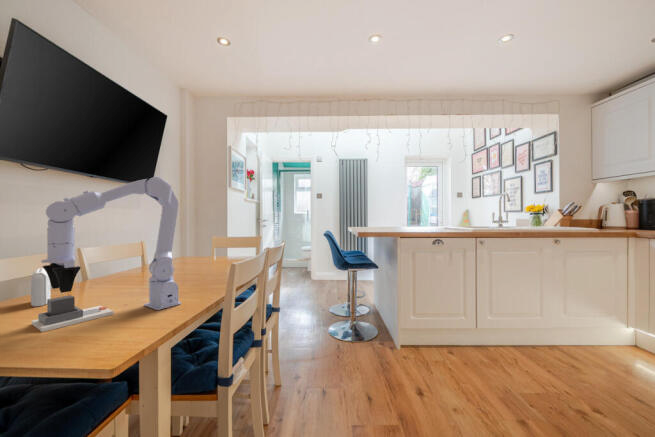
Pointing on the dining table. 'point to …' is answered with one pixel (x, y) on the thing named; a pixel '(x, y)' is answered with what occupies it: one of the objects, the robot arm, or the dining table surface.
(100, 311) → the white flat rectangular base
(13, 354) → the dining table surface
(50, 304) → the gray block
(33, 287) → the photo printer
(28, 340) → the dining table surface
